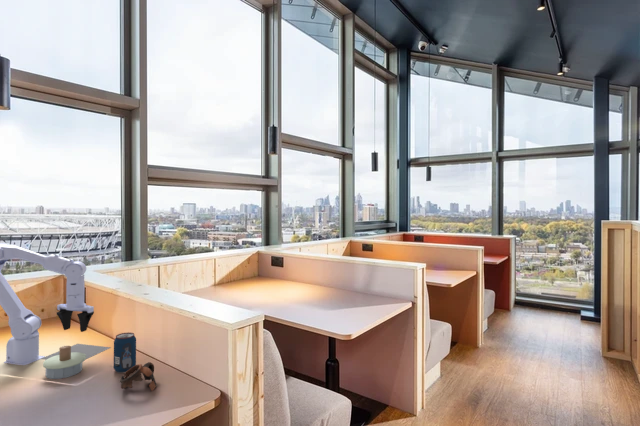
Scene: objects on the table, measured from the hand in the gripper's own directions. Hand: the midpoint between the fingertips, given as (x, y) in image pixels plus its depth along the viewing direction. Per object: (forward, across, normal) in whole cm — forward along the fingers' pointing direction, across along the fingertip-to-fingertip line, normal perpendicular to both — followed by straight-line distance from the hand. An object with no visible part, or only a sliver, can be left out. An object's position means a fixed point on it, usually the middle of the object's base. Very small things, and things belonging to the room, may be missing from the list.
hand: (75, 330), depth 142 cm
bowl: (+10, -9, +13) cm, 19 cm away
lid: (+6, -9, +13) cm, 17 cm away
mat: (+10, +1, -2) cm, 10 cm away
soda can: (+10, -26, +5) cm, 28 cm away
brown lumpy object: (+10, -40, +15) cm, 44 cm away
